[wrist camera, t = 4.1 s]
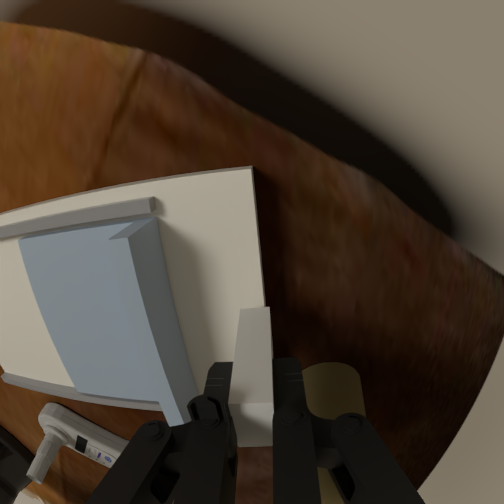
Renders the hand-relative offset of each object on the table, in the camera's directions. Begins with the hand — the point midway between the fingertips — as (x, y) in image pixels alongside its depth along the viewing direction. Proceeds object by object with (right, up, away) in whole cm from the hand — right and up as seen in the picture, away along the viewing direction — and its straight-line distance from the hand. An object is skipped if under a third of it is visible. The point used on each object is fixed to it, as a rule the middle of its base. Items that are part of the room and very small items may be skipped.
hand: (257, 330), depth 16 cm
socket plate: (-12, 0, +4) cm, 13 cm away
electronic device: (-17, -17, +11) cm, 26 cm away
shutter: (-9, 0, +2) cm, 10 cm away
